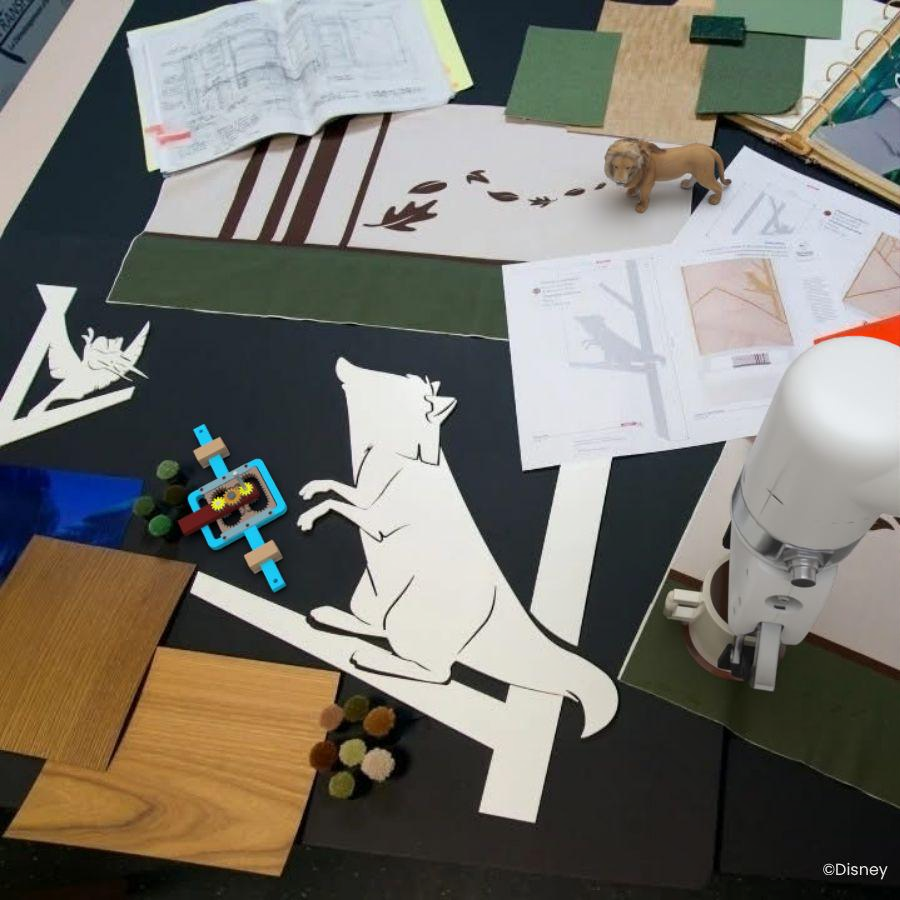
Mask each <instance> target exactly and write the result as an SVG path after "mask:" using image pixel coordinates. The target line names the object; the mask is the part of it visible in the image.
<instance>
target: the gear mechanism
mask: <svg viewBox="0 0 900 900" xmlns="http://www.w3.org/2000/svg"><path fill="white" fill-rule="evenodd" d="M193 432H194V434H195V436H196V438H197V440H198V442H199V444H200V446H199V447H198V448H195V449H194V450H192V452H193V454H194V455H195V458H196V460H197V462H198V463H199V464H200V466H201V467H202V469H206V468H208V467H211V468H212V471H213V473H214V475H215V477H216V478H215V479H214V480H212V481H210V482H208V483H207V484H205V485H203V486H201V487H199V488H198V489H197V490H194V491H192V492H190V493H189V494H188V496H187V502H188V504H189V506H190V508H191V510H192V512H191V513H190V514H188V515H186V516H184V517H182V518H181V519H179V520H177V522H178V525H179V527H180V529H181V532H182V534H183V535H184V536H185V537H188V536H189V535H191V534H193V533H195V532H197V531H199V530H200V531H201V532H202V534H203V536H204V538H205V540H206V542H207V545H208V546H209V547H210V549H212V550H213V551H219V550H222V549H223V548H224V547H226V546H229V545H230V544H231V543H232V544H233V543H234V542H236V541H238V540H240V539H242V538H243V537H245V538H246V540H247V542H248V544H249V546H250V548H251V551H249V552H247V553H246V554H244V555H243V557H244V559H245V561H246V563H247V566H248V568H249V569H250V570H251V571H252V572H253V574H257V573H259V572H260V571H262V572H263V574H264V576H265V579H266V581H267V582H268V583H267V584H268V585H269V586H270V589H271V591H272V592H273V593H276V592H278V591H280V590H282V589H283V588H285V587H287V584H286V582H285V581H284V578H283V576H282V575H281V572H280V570H279V569H278V567H277V564H276V562H279V561H281V560H283V559H284V557H283V555H282V553H281V551H280V549H279V546H277V544H276V543H275V541H274V540H273V539H270V540H269V541H267V542H265V541H264V539H263V537H262V535H261V533H260V531H259V529H260V528H261V527H263V526H265V525H267V524H269V523H271V522H272V521H274V520H276V519H277V518H279V517H281V516H283V515H284V514H286V512H287V510H288V506H287V504H286V502H285V501H284V497H282V494H281V493H280V491H279V489H278V487H277V485H276V483H275V481H274V479H273V478H272V476H271V474H270V472H269V470H268V468H267V467H266V464H265V463H264V461H263V460H262V459H260V458H255V459H253V460H250V461H249V462H247V463H244V464H243V465H241V466H239V467H237V468H235V469H233V470H231V471H229V469H228V467H227V466H226V463H225V462H224V458H227V457H229V456H230V455H231V453H230V452H229V450H228V448H227V445H226V444H225V443H224V441H223V439H222V438H221V436H219V437H217V438H215V439H213V437H212V435H211V433H210V431H209V429H208V427H207V425H206V424H204V423H203V424H201V425H199V426H197V427H196V428H193ZM248 478H249V479H251V478H254V479H256V480H257V482H258V483H259V485H260V487H261V489H262V491H263V492H264V494H265V497H266V499H267V505H266V507H264V508H263V509H261V510H258V511H257V510H252V508H251V506H250V504H251V505H254V503H255V504H256V503H257V501H259V497H260V492H259V490H258V488H257V487H256V485H255V483H254V482H253V481H250V482H244V481H245V480H247V479H248ZM221 493H225V494H223V495H222V496H220V497H219V494H221ZM201 499H204V500H206V503H207V504H206V505H205V506H203V507H201V505H200V503H199V501H200V500H201ZM236 510H238V511H239V513H240V519H238V520H239V521H238V522H237V523H236V524H234V525H227V524H225V522H224V520H226V519H227V518H230V516H231V515H232V513H233V512H234V511H236ZM223 519H224V520H223ZM213 522H216V523H217V525H218V527H219V529H220V531H221V534H220V537H219V538H216V537H215V536H214V533H213V531H212V529H211V527H210V524H212V523H213Z"/></svg>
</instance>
